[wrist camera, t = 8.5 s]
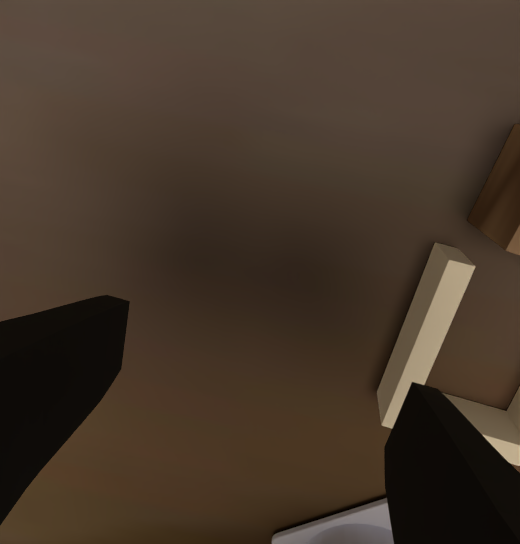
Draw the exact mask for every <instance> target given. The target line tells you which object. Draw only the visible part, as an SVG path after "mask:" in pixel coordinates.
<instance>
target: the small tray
mask: <svg viewBox="0 0 520 544" xmlns="http://www.w3.org/2000/svg"><path fill="white" fill-rule="evenodd" d="M474 269H475V265H474V264H473V263H472V262H471V261H470V260H469V259H468V258H467V257H466V256H465V255H464V254H463V253H462V252H461V251H460V250H459V249H458V248H455V247H451V246H447V245H444V244H440V243H436V242H435V244H434V246H433V249H432V251H431V254H430V256H429V259H428V262H427V264H426V267H425V269H424V272H423V274H422V277H421V280H420V282H419V285H418V287H417V290H416V292H415V295H414V298H413V300H412V303H411V305H410V308H409V310H408V313H407V316H406V318H405V321H404V323H403V326H402V328H401V331H400V334H399V336H398V339H397V341H396V344H395V346H394V349H393V352H392V354H391V357H390V359H389V362H388V364H387V367H386V370H385V372H384V375H383V377H382V380H381V382H380V385H379V388H378V390H377V398H378V405H379V412H380V419H381V425H382V426H385V427H389V428H393V426H394V424H395V421H396V419H397V416H398V414H399V412H400V409H401V407H402V405H403V402H404V400H405V397H406V395H407V393H408V390H409V388H410V386H411V383H412V382H415V383H418V384H422V385H424V384H425V382H426V380H427V377H428V375H429V373H430V370H431V368H432V366H433V364H434V361H435V359H436V357H437V354H438V352H439V350H440V347H441V345H442V343H443V341H444V338H445V336H446V334H447V331H448V329H449V327H450V324H451V322H452V320H453V317H454V315H455V313H456V311H457V308H458V306H459V304H460V301H461V299H462V297H463V294H464V292H465V290H466V288H467V285H468V283H469V281H470V278H471V276H472V274H473V271H474ZM443 394H444V395H445V396H446V397H447V398H448V399H449V400H450V401H451V402H452V403H453V404H454V405H455V406H456V407H457V408H458V410H459V411H460V412H461V413H462V414H463V415H464V416H465V417H466V418H467V419H468V420H469V421H470V422H471V423H472V425H473V426H474V427H475V428H476V429H477V430H478V431H479V432H480V433H481V434H482V435H483V436H484V437H485V438H486V439H487V441H488V442H489V443H490V444H491V445H492V446H493V447H494V448H495V449H496V450H497V451H498V452H499V453H500V454H501V455H502V456H503V457H504V458H505V459H506V460H507V461H508V462H509V463H511V464H515V465H518V466H520V387H519V388H518V390H517V392H516V394H515V396H514V398H513V400H512V402H511V404H510V405H509V407H508V409H507V411H505V410H501V409H498V408H494V407H491V406H487V405H484V404H480V403H477V402H473V401H470V400H466V399H463V398H459V397H456V396H452V395H449V394H445V393H443Z"/></svg>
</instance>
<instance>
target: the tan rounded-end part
mask: <svg viewBox="0 0 520 544" xmlns="http://www.w3.org/2000/svg"><path fill="white" fill-rule="evenodd" d="M467 221H468V222H470V223H471V224H472V225H474V226H475V227H476V228H477V229H479V230H480V231H481V232H483V233H484V234H485V235H486V236H488V237H489V238H490V239H491V240H493V241H494V242H495V243H497V244H498V245H499V246H500V247H502V248H503V249H504V250H506V251H508V252H511V253H514V254H517V255H520V124H515V125H514V127H513V129H512V131H511V133H510V135H509V137H508V139H507V141H506V143H505V145H504V147H503V149H502V151H501V153H500V155H499V157H498V159H497V161H496V163H495V165H494V167H493V169H492V171H491V173H490V175H489V177H488V179H487V181H486V183H485V185H484V187H483V189H482V191H481V193H480V195H479V197H478V199H477V201H476V203H475V205H474V207H473V209H472V211H471V213H470V215H469V217H468V219H467Z"/></svg>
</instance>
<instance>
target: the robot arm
mask: <svg viewBox="0 0 520 544" xmlns="http://www.w3.org/2000/svg"><path fill="white" fill-rule="evenodd" d="M129 302H130V301H126V300H123V299H119V298H116V297H112V296H109V295H104V296H98V297H94V298H90V299H86V300H82V301H78V302H75V303H71V304H67V305H64V306H60V307H56V308H53V309H49V310H46V311H42V312H38V313H34V314H31V315H26V316H22V317H18V318H14V319H9V320H5V321H1V322H0V525H1V523H2V522H3V521H4V519H5V518H6V516H7V515H8V514H9V512H10V511H11V509H12V508H13V507H14V505H15V504H16V502H17V501H18V499H19V498H20V497H21V495H22V494H23V492H24V491H25V490H26V488H27V487H28V486H29V485H30V483H31V482H32V481H33V479H34V478H35V477H36V476H37V474H38V473H39V472H40V471H41V470H42V468H43V467H44V466H45V465H46V464H47V463H48V461H49V460H50V459H51V458H52V457H53V456H54V455H55V453H56V452H57V451H58V450H59V449H60V448H61V446H62V445H63V444H64V443H65V442H66V441H67V440H68V438H69V437H70V436H71V435H72V434H73V433H74V431H75V430H76V429H77V428H78V427H79V426H80V425H81V423H82V422H83V421H84V420H85V419H86V417H87V416H88V415H89V414H90V413H91V412H92V410H93V409H94V408H95V407H96V406H97V404H98V403H99V402H100V401H101V399H102V398H103V396H104V395H105V393H106V392H107V390H108V389H109V387H110V386H111V384H112V383H113V381H114V380H115V378H116V376H117V375H118V373H119V372H120V370H121V366H122V358H123V350H124V342H125V334H126V326H127V318H128V310H129ZM385 489H386V496H387V498H385V499H382V500H378V501H375V502H372V503H369V504H366V505H363V506H360V507H357V508H354V509H350V510H347V511H344V512H341V513H338V514H335V515H332V516H329V517H326V518H322V519H319V520H316V521H313V522H310V523H307V524H304V525H301V526H298V527H294V528H291V529H288V530H285V531H282V532H279V533H276V534H274V535H273V537H272V544H520V473H519V472H518V471H517V470H516V469H515V468H514V467H513V466H512V465H511V464H510V463H509V462H508V461H507V460H506V459H505V458H504V457H503V456H502V455H501V454H500V453H499V452H498V451H497V450H496V449H495V448H494V447H493V446H492V445H491V444H490V443H489V442H488V441H487V439H486V438H485V437H484V436H483V435H482V434H481V433H480V432H479V431H478V430H477V429H476V428H475V427H474V426H473V425H472V423H471V422H470V421H469V420H468V419H467V418H466V417H465V416H464V415H463V414H462V413H461V412H460V411H459V410H458V408H457V407H456V406H455V405H454V404H453V403H452V402H451V401H450V400H449V399H448V398H447V397H446V396H445V395H444V394H443V393H442V392H440V391H439V390H438V389H436V388H432V387H429V386H425V385H422V384H418V383H415V382H412V383H411V386H410V388H409V390H408V393H407V395H406V397H405V400H404V402H403V405H402V407H401V409H400V412H399V414H398V416H397V419H396V421H395V424H394V426H393V428H392V431H391V433H390V436H389V438H388V440H387V443H386V445H385Z"/></svg>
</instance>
